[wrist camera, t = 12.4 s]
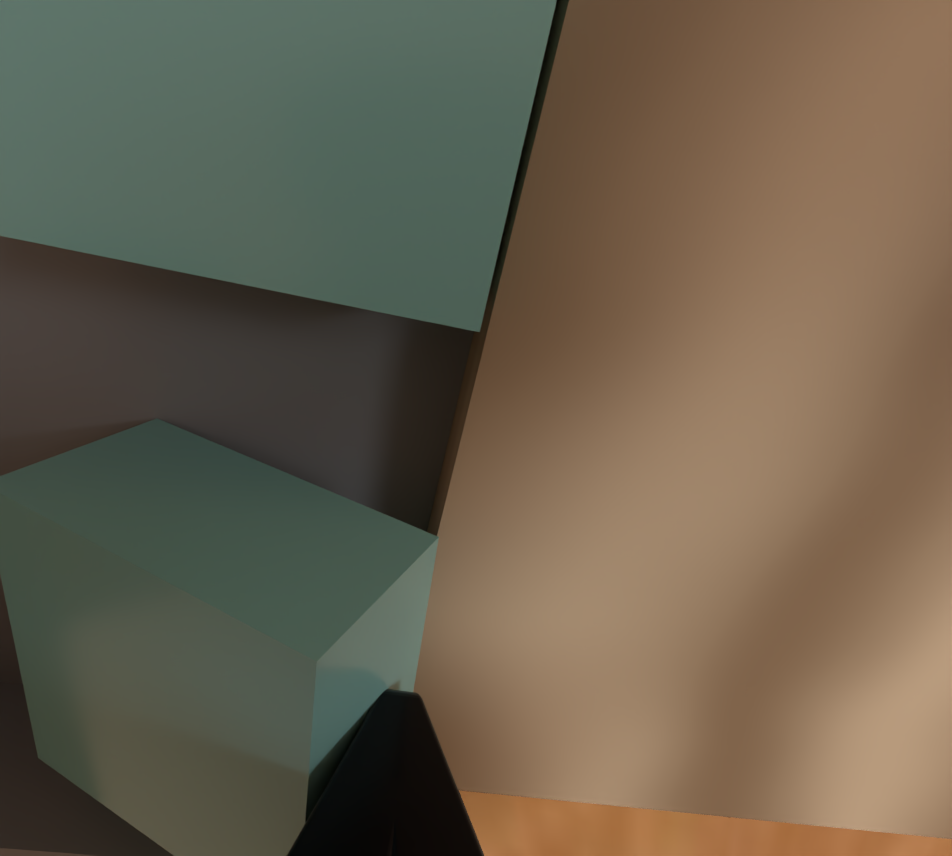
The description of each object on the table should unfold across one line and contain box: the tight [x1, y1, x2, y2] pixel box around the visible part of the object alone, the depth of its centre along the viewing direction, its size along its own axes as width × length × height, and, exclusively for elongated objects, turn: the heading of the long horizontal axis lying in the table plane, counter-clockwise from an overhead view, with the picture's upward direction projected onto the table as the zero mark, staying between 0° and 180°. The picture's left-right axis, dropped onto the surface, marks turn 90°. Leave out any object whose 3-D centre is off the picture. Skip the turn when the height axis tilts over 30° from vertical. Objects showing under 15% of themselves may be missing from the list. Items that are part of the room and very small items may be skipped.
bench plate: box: [413, 0, 952, 839], centre depth 10 cm, size 14×16×2 cm
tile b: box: [0, 419, 439, 856], centre depth 9 cm, size 5×5×2 cm
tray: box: [0, 236, 474, 856], centre depth 8 cm, size 10×18×4 cm, turn 167°
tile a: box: [0, 0, 557, 332], centre depth 6 cm, size 5×5×2 cm
